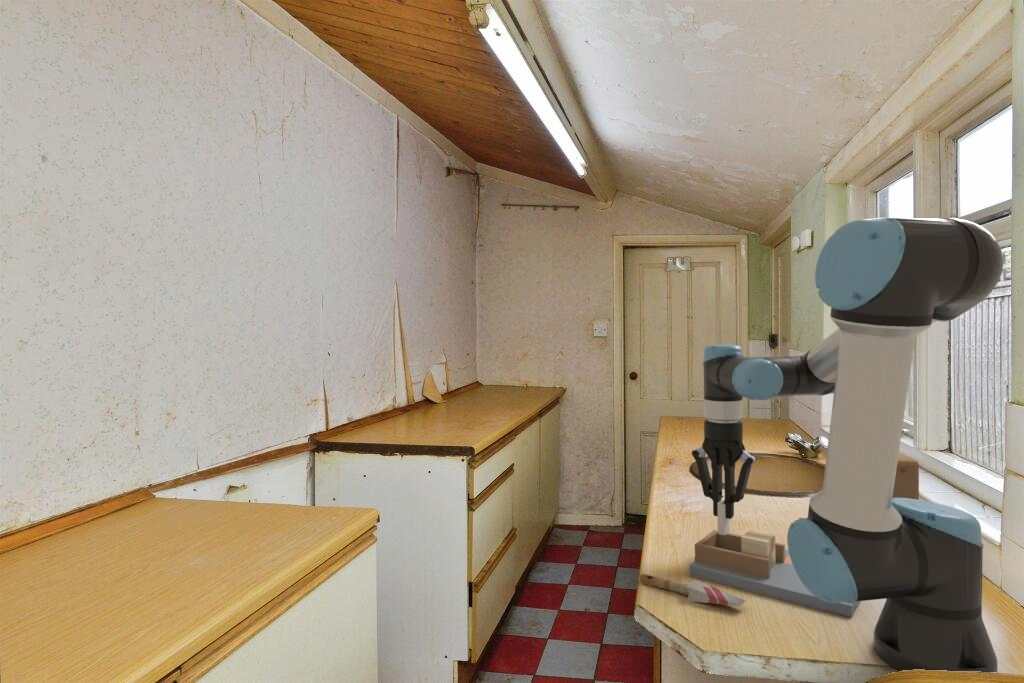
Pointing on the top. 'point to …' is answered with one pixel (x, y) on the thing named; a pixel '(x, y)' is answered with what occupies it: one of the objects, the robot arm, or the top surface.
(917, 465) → the wooden block
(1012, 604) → the top surface
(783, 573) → the slate deck with cubby
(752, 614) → the top surface
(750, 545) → the maple cube
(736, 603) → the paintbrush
